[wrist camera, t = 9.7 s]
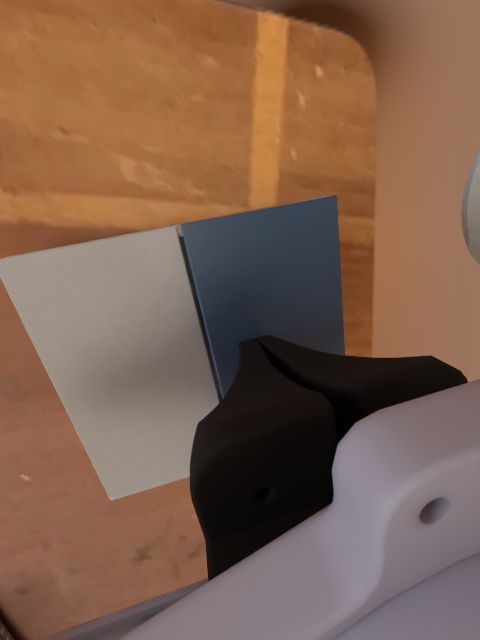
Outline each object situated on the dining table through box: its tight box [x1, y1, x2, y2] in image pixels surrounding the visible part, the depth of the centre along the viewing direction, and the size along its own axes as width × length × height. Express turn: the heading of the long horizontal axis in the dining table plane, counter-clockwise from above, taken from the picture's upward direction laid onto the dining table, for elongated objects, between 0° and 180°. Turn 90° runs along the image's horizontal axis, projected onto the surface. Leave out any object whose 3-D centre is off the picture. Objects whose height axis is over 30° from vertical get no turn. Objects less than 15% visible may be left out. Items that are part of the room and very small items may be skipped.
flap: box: [181, 195, 345, 398], centre depth 12 cm, size 6×12×1 cm, turn 11°
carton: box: [0, 196, 327, 501], centre depth 15 cm, size 13×12×5 cm
